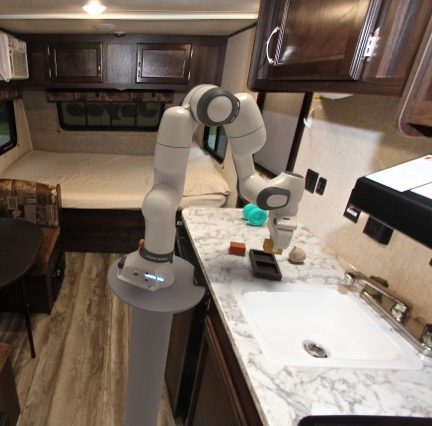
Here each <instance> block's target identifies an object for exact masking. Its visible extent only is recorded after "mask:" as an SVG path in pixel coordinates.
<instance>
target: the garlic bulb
mask: <svg viewBox="0 0 432 426" xmlns="http://www.w3.org/2000/svg"><path fill="white" fill-rule="evenodd" d="M292 247H293V248H291V250H290V251H289V253H288V258H289V260H290V261H291V262H293V263H303V262H304V261H305V260H306V259H307V253H306V252H305V250H304V249H302V248H300V247H298V246H296V245H293V246H292Z"/></svg>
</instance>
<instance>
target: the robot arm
mask: <svg viewBox="0 0 432 426" xmlns="http://www.w3.org/2000/svg"><path fill="white" fill-rule="evenodd" d="M200 125H204V126H206V127H210V128H215V127H216V128H217V127H221V126H222V127H223V128H224V132H225V135H226V138H227V142H228V144H229V147H230V151H231V157H232V161H233V165H234V170H235V173H236V186H235V187H236V193H237V195H238V196H239V197H240V198H242V199H244V200H246V201H248V202H249V204H250V203H252V204H253V205H255V206H256V207H258V208H259V209H262V210H265V211H266V212H267V220H266V227H267V229H268V232H269V239H272V240H273V242H274V245H273V246H272V252H277V251H278V249H283V251H285V250H287V249H289V246H290V244H291V242H292V239H293V236H294V231H296V230H297V229H298V221H297V215H298V212H299V204H300V202H301V201H302V199H303V196H304V193H305V188H306V178H305V176H303V175H301V174H299V173H296V172H293V171H289V170H284V171H282V172H280V174H278V175H277V176H276V177H274V178H271V179H265V178H264V177H262V176H261V175H259V173H257V171H256V168H255V164H254V159H253V154H255V153H258V152H259V151H260V150H261V149H262V148H263V147H264V145H265V144H266V142H267V129H266V126H265V122H264V118H263V116H262V112H261V110H260V108H259V106H258V104H257V102H256V100H255V98H254V97H253V95H252V94H250V93H248V92H238V93H235V94H233V93H232V92H231V91H230V90H228V89H227V88H224V87H221V86H217V85H215V84H210V83H208V84H205V83H199V84H197V85H194V86H192V87H191V88H189V90H188V91H187V92H186V93H185V95H184V97H183V98H182V99H181V101H180V102H179V104H178V105H177V106H171V107H169V108H167V109H166V110H165V111H164V112H163V115H162V117H161V119H160V123H159V127H158V131H157V133H156V134H157V135H156V141H155V147H154V153H153V160H152V167H153V184H152V187H151V189H149V191H148V192H147V193H146V194H145V196H144V198H143V201H142V204H141V213H142V216H143V218H144V225H145V226H144V227H145V230H144V238H141V239H140V240H139V245H138V249H137V250H135V251H133V252H130V253H128V254H129V255H128V256H127V258H126V256H125V255H121V256H120V258H121V260H120V261H119V263H118V267H119V268H118V271H117V279H118V280H119V281H122V282H125V283H128V284H130V285H133V286H136V287H139V288H142V289H145V290H147V291H150V292H155V291H157V290H158V289H162V288H166V287H168V286H170V285H171V284H172V283H173V282H174V276H173V268H172V263H173V261H174V255H175V253H176V251H175V249H176V248H175V242H176V234H177V233H176V232H177V228H176V214H177V211H178V207H179V205H180V204H181V202H182V200H183V197H184V192H185V185H186V177H187V176H186V175H187V168H188V162H189V158H190V153H191V148H192V142H193V136H194V134H195V131H196V129H197V128H198V127H199V126H200Z"/></svg>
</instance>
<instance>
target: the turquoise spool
mask: <svg viewBox="0 0 432 426" xmlns="http://www.w3.org/2000/svg"><path fill="white" fill-rule="evenodd" d="M242 216H243V218H244V219H246V220H247V221H248V223H249V224H250V225H252V226H255V227H256V226H261V225H263V224H265V222H267V221H268V211H265V210H262V209H259V208H258V207H256V206H255V205H253V204H252V203H250V202H249V203H248V204H246V205H245V206H244V207H243V208H242Z"/></svg>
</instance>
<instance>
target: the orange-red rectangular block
mask: <svg viewBox="0 0 432 426" xmlns="http://www.w3.org/2000/svg"><path fill="white" fill-rule="evenodd" d="M228 249H229V254H230V255H235V256H241V257H245V254H246V251H247V246H246V243H243V242H238V241H230V244H229V248H228Z"/></svg>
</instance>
